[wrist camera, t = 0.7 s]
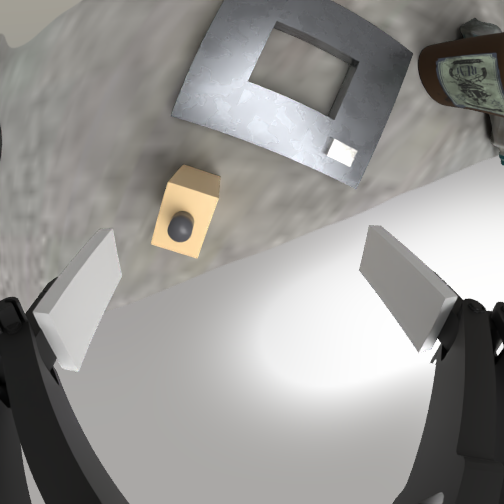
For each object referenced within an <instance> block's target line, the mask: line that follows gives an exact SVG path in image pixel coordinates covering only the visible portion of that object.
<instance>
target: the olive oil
mask: <svg viewBox="0 0 504 504" xmlns="http://www.w3.org/2000/svg"><path fill="white" fill-rule="evenodd" d="M419 73H420V77H421V80H422V83H423V85H424V87H425V89H426V91H427V92H428V93H429V95H430V96H431V97H432V98H433V99H434V100H435V101H436V102H438V103H440V104H442V105H445V106H451V107H458V108H464V109H470V110H475V111H479V112H483V113H488V114H492V115H496V116H499V117H503V118H504V32H503V33H495V34H488V35H482V36H476V37H470V38H464V39H459V40H454V41H449V42H444V43H439V44H435V45H430V46H428V47H426V48H424V49H423V50H422V52H421V54H420V57H419Z"/></svg>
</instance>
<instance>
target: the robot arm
mask: <svg viewBox="0 0 504 504" xmlns="http://www.w3.org/2000/svg"><path fill="white" fill-rule="evenodd" d="M1 146H2V139H1V128H0V158H1ZM359 271H360V272H361V273H362V275H363V276H364V277H365V278H366V280H367V281H368V282H369V284H370V285H371V286H372V288H373V289H374V290H375V291H376V293H377V294H378V295H379V297H380V298H381V299H382V301H383V302H384V304H385V305H386V306H387V308H388V309H389V311H390V312H391V313H392V315H393V316H394V317H395V319H396V320H397V322H398V323H399V325H400V326H401V327H402V329H403V330H404V332H405V333H406V335H407V336H408V337H409V339H410V340H411V342H412V343H413V345H414V346H415V348H416V349H417V351H418V352H422V351H426V350H430V349H432V347H433V345H434V343H435V342H436V340H437V338H438V339H439V341H440V342H441V345H440V346H439V348H438V350H437V352H436V353H435V355H434V356H433V358H432V360H431V363H433V362H434V360H435V359H437V362H436V369H435V376H434V383H433V389H432V394H431V400H430V405H429V410H428V414H427V419H426V423H425V427H424V431H423V435H422V438H421V442H420V445H419V449H418V452H417V456H416V459H415V462H414V465H413V468H412V471H411V473H410V476H409V479H408V482H407V484H406V486H405V488H404V489H403V491H402V492H401V493H400V494H399V495H398V497H397V498H396V499H395V501H394V502H393V504H504V348H503V350H502V351H501V352H500V354H499V355H498V356H497V354H496V351H497V349H498V348H499V346H500V345H501V343H502V342H503V344H504V303H503V302H498V303H496V305H495V307H494V309H493V311H486V309H485V308H484V306H483V305H482V304H480V303H479V302H478V301H475V300H473V299H465V300H462V298H461V297H460V296H459V295H458V294H457V293H456V292H455V291H454V290H453V289H452V288H451V287H450V286H449V285H447V284H446V282H445V281H443V280H441V278H440V277H439V276H438V275H437V274H436V273H435V272H434V271H432V270H431V269H430V268H429V267H427V265H425V264H424V263H423V262H422V261H421V260H420V259H419V258H418V257H417V256H415V255H414V254H413V253H412V252H411V251H410V250H409V249H408V248H406V247H405V246H404V245H403V244H402V243H401V242H400V241H398V240H397V239H396V238H395V237H394V236H392V235H391V234H390V233H389V232H388V231H386V230H385V229H384V228H383V227H382V226H374V225H369V228H368V233H367V238H366V243H365V247H364V252H363V256H362V260H361V264H360V269H359ZM121 277H122V273H121V268H120V264H119V259H118V254H117V249H116V244H115V238H114V233H113V228H107V229H99V230H98V231H97V232H96V233H95V234H94V236H93V237H92V238H91V239H90V240H89V241H88V242H87V243H86V244H85V246H84V247H83V248H82V249H81V250H80V251H79V253H78V254H77V255H76V256H75V257H74V258H73V260H72V261H71V262H70V263H69V264H68V266H67V267H66V268H65V269H64V271H63V272H62V273H61V274H60V276H59V277H56V278H55V279H53V280H52V281H51V282H49V283H48V284H47V285H46V287H45V288H44V289H43V291H42V292H41V293H40V295H39V296H38V298H37V299H36V300H35V301H34V303H33V304H32V305H31V307H30V308H29V310H28V311H27V312H26V314H25V313H24V311H23V309H22V306H21V304H20V302H19V300H18V298H16V297H8V298H5V299H3V300H1V301H0V504H31V500H30V495H29V491H28V487H27V483H26V477H25V472H24V466H23V459H22V452H21V446H22V449H23V452H24V455H25V457H26V460H27V463H28V465H29V468H30V470H31V473H32V475H33V478H34V480H35V482H36V485H37V487H38V489H39V491H40V493H41V495H42V498H43V500H44V502H45V504H129V503H128V502H127V500H126V499H125V497H124V496H123V495H122V493H121V492H120V491H119V489H118V488H117V486H116V485H115V484H114V482H113V481H112V479H111V478H110V476H109V475H108V473H107V472H106V470H105V469H104V467H103V466H102V464H101V462H100V461H99V459H98V457H97V456H96V454H95V452H94V451H93V449H92V447H91V445H90V443H89V442H88V440H87V438H86V436H85V434H84V432H83V431H82V429H81V426H80V424H79V423H78V420H77V418H76V416H75V414H74V412H73V410H72V408H71V406H70V403H69V401H68V399H67V397H66V394H65V392H64V389H63V387H62V384H61V382H60V379H59V376H58V374H57V371H56V370H55V368H54V366H53V365H54V363H55V361H56V359H57V360H58V362H59V364H60V365H61V367H62V368H63V369H66V370H72V371H77V372H79V370H80V367H81V364H82V362H83V359H84V357H85V355H86V352H87V350H88V347H89V345H90V343H91V340H92V338H93V336H94V333H95V331H96V329H97V327H98V324H99V322H100V320H101V318H102V316H103V314H104V311H105V309H106V307H107V305H108V303H109V301H110V299H111V297H112V295H113V293H114V291H115V289H116V287H117V285H118V283H119V281H120V279H121Z"/></svg>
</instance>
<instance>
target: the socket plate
mask: <svg viewBox="0 0 504 504" xmlns="http://www.w3.org/2000/svg"><path fill="white" fill-rule="evenodd" d="M273 28H275V29H278V30H280V31H283V32H285V33H288V34H290V35H292V36H295V37H297V38H299V39H301V40H304V41H306V42H308V43H310V44H312V45H314V46H316V47H318V48H320V49H322V50H324V51H326V52H328V53H330V54H332V55H334V56H335V57H337V58H339V59H341V60H343V61H344V62H346V63H348V64H350V67H349V69H348V72H347V74H346V76H345V79H344V81H343V83H342V86H341V88H340V90H339V92H338V95H337V97H336V99H335V102H334V104H333V106H332V108H331V111H330V113H329V115H328V117H327V116H326V115H324V114H322V113H320V112H318V111H316V110H314V109H311V108H309V107H307V106H305V105H303V104H301V103H299V102H297V101H294V100H292V99H290V98H288V97H285V96H283V95H281V94H278V93H276V92H274V91H271V90H269V89H266V88H264V87H261V86H259V85H256V84H253V83H251V82H248V80H249V77H250V75H251V73H252V71H253V69H254V66H255V64H256V62H257V60H258V58H259V56H260V54H261V52H262V49H263V47H264V45H265V43H266V41H267V39H268V37H269V35H270V33H271V31H272V29H273ZM412 55H413V53H412V52H411V51H409V50H408V49H407V48H405V47H404V46H403V45H402V44H400V43H399V42H398V41H396V40H395V39H393V38H392V37H391V36H389V35H388V34H386V33H385V32H383V31H382V30H380V29H379V28H377V27H376V26H374V25H373V24H371V23H370V22H368V21H367V20H365V19H363V18H362V17H360V16H358V15H357V14H355V13H353V12H351V11H350V10H348V9H346V8H344V7H342V6H341V5H339V4H337V3H335V2H333V1H331V0H224V2H223V3H222V5H221V7H220V9H219V10H218V12H217V14H216V16H215V18H214V20H213V21H212V23H211V25H210V27H209V29H208V31H207V33H206V35H205V37H204V39H203V41H202V43H201V45H200V47H199V49H198V52H197V54H196V56H195V58H194V60H193V62H192V65H191V67H190V69H189V71H188V74H187V76H186V78H185V81H184V83H183V86H182V88H181V91H180V93H179V96H178V98H177V101H176V103H175V106H174V108H173V111H172V114H171V116H172V117H176V118H179V119H182V120H186V121H189V122H192V123H195V124H199V125H202V126H205V127H208V128H211V129H214V130H217V131H220V132H223V133H226V134H229V135H231V136H234V137H237V138H240V139H242V140H245V141H248V142H250V143H253V144H256V145H258V146H261V147H263V148H266V149H268V150H271V151H273V152H276V153H278V154H281V155H283V156H286V157H288V158H290V159H293V160H295V161H297V162H300V163H302V164H304V165H306V166H309V167H311V168H313V169H315V170H317V171H320V172H322V173H324V174H326V175H328V176H330V177H332V178H335V179H337V180H339V181H341V182H343V183H345V184H347V185H349V186H351V187H353V188H355V189H357V187H358V185H359V183H360V181H361V178H362V176H363V174H364V172H365V170H366V168H367V166H368V163H369V161H370V159H371V157H372V155H373V152H374V150H375V148H376V146H377V143H378V141H379V139H380V137H381V134H382V132H383V130H384V127H385V125H386V123H387V120H388V118H389V115H390V113H391V111H392V108H393V106H394V103H395V101H396V98H397V96H398V93H399V90H400V88H401V85H402V83H403V80H404V77H405V75H406V72H407V69H408V66H409V64H410V61H411V58H412Z"/></svg>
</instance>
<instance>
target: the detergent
mask: <svg viewBox="0 0 504 504" xmlns="http://www.w3.org/2000/svg"><path fill="white" fill-rule="evenodd" d="M460 31H461V33H462V35H463V37H464V38H470V37H476V36H482V35H488V34H495V33H502V31H501V29H500V28H499V27H498V26H496V25H494V24H491V23H485V22H480V21H478V20H477V19H476V18H474V19H472V20H470V21H469V22H467V23H465V24H463V25H462V26H461V27H460ZM489 116H490V120H491V124H492V132H491V143H492V144H493V145H494V146H497V147H499V149H500V152H499V157H500V159H501V164H502V165H504V118H503V117H499V116H496V115H492V114H489Z"/></svg>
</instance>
